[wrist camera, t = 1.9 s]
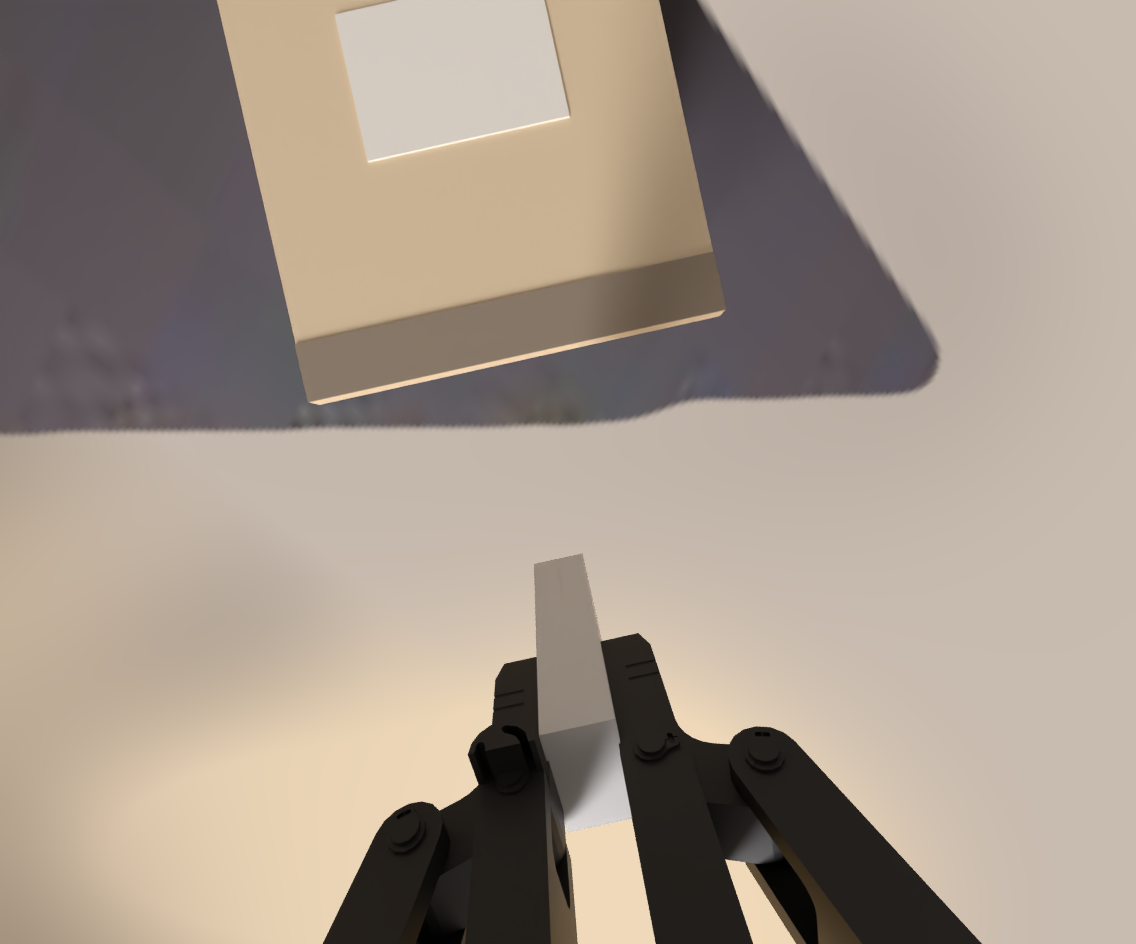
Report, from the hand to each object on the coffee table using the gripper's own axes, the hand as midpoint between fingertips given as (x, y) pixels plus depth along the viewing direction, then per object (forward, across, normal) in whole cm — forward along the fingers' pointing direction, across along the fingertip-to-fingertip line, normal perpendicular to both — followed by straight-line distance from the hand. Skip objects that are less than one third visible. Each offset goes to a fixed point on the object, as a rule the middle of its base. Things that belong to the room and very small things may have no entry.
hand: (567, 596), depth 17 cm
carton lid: (+9, 0, +16) cm, 19 cm away
